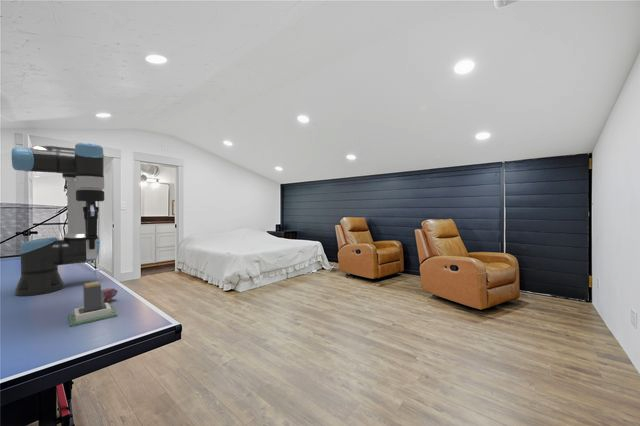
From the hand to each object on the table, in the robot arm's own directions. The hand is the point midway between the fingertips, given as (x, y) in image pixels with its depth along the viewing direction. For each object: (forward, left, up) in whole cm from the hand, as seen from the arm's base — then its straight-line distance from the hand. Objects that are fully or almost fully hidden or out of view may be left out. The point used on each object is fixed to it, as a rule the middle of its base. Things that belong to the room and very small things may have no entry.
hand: (91, 258), depth 95 cm
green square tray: (0, 0, -20) cm, 20 cm away
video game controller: (-14, +4, -20) cm, 25 cm away
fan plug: (0, 0, -19) cm, 19 cm away
